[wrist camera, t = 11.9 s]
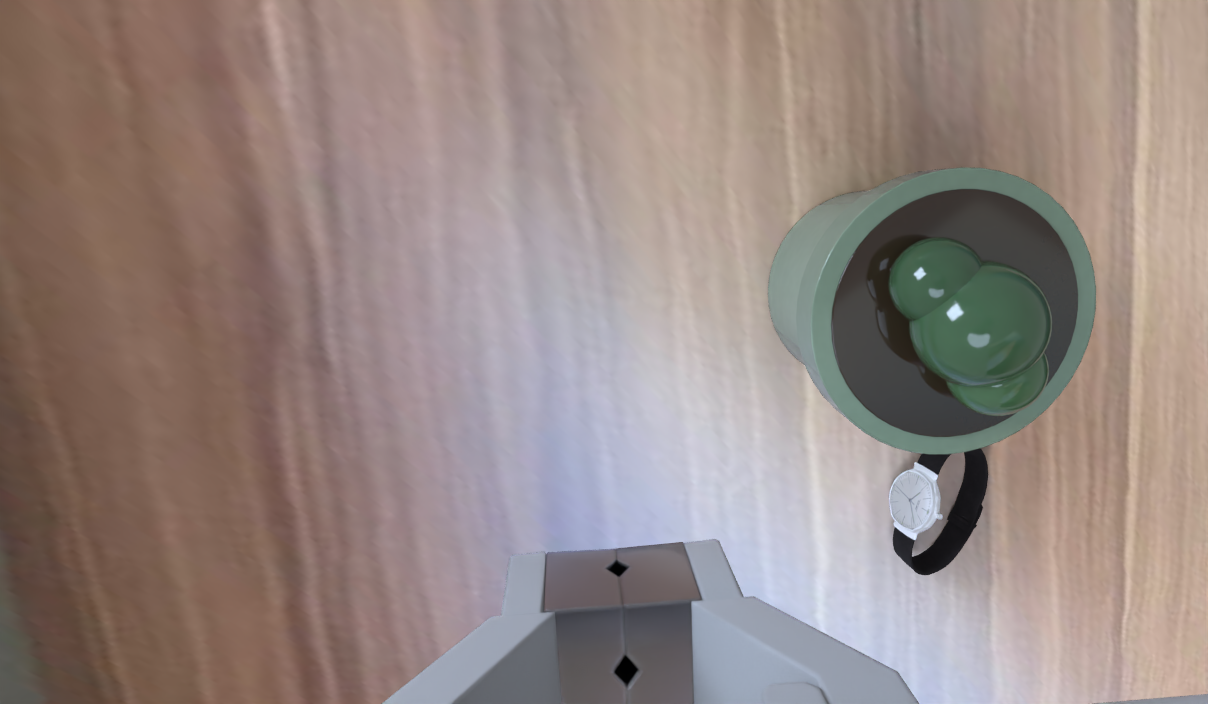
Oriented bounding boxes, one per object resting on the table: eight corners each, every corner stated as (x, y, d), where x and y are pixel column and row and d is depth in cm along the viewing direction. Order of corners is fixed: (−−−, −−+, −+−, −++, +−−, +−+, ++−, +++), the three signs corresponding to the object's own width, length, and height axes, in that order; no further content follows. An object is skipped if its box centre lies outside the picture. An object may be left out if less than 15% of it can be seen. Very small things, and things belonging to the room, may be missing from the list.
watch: (910, 421, 40) (943, 442, 37) (989, 439, 41) (1029, 462, 37) (866, 547, 42) (894, 580, 38) (943, 564, 42) (977, 598, 39)
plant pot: (751, 180, 37) (852, 171, 24) (976, 169, 38) (1199, 153, 24) (753, 401, 40) (846, 504, 26) (964, 388, 40) (1161, 483, 27)
